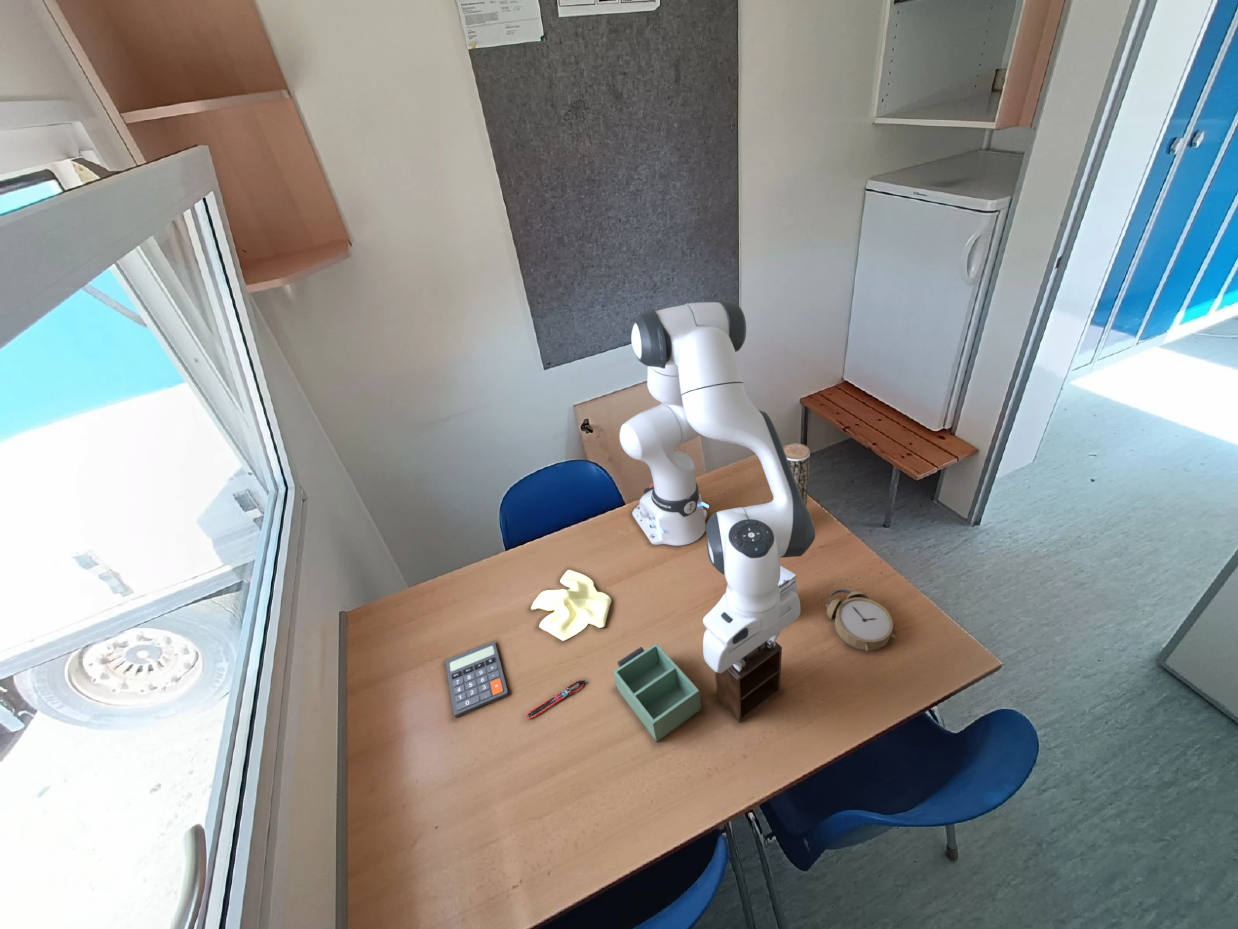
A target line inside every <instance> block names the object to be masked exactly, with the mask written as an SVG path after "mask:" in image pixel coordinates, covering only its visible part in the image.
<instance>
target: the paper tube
mask: <svg viewBox="0 0 1238 929" xmlns="http://www.w3.org/2000/svg"><path fill="white" fill-rule="evenodd" d="M782 446H783V449H784V452H785V454H786V457H787V460H788V462H789V465H790V468H791V471H792V473H793V476H794V479H795V481H796V484H797V487H798V489H799V492H800V494H801V497H802V499H803V501H804V503H805V505H806V507H807V505H808V504H807V503H808V488H809V474H810V460H811V451H810V448H809V447H808V446H807V445H805V444H802V443H795V442H794V443H788V444H785V445H782ZM807 508H808V507H807Z"/></svg>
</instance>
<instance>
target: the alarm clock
mask: <svg viewBox="0 0 1238 929" xmlns="http://www.w3.org/2000/svg"><path fill="white" fill-rule="evenodd" d="M840 593H847V596H846V599H844V600H841V599H840V598H835V599H832V600H831V598H832V597H833V596H834V595H836V594H840ZM825 607H826V615H827V617H828V618H829V619H830V620H833V619H834V623H833V624H834V628H835V632H836V633H837V635H838V636H839V638H840V639H841V640H843V641H844V643H845V644H848V645H849V646H851V647H853V648H855V649H858V650H862V651H865V652H869V651H875V650H879V649H881V648H883V647H884V646H885V645H887V643H888V642H889V640H890V638H892V639H897V636H896V635H895V634H893V629H894V621H893V617H892V615H891V614H890V612H889V611H888V610H887V608H886V607H884V606H883V605H882V604H880V603H879V602H877V601H875V600H873V599H870V597H869V596H868V594H867V593H866V592H864V591H862V590H853V591H852V590H850V589H847V588H838V589H835V590H832V592H831V593H830V594H829V596H828V602H827V603H826V604H825Z"/></svg>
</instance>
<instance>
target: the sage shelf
mask: <svg viewBox="0 0 1238 929" xmlns="http://www.w3.org/2000/svg"><path fill="white" fill-rule="evenodd" d="M617 665H618V667H617V668H616V669H614V670H613V671H612V674H613V677H614V682H615V686H616V689H617V691H618V693H619V695H620V696H621V697H622V699H623V700H624V701H625V702H626V704H627V705H628V706H629V708H630V709H631V710H632V711H633V713H634V714H635V716H636V718H638V719H639V721H640V722H641V724H642V725H643V726H644V727H645V729H646V731H647V732H648V733H649V734H650V736H651V737H652V738H653V740H654V741H655V742H656V743H657V742H659V741H660V740H662V739H663V738H665V736H667V735H669V734H670V733H672V732H673V731H674V730H675V729H677V728H678V727H680V726H681V725H682V724H684V723H685V722H686V721H688V720H689V719H690V718H692V717H693V716H695V715H696V714H697V713H699V712H700V711H701V710H702V706H701V704H702V703H701V695H700V690H699V689H698V688H697V687H696V685H695V684H694V683H693V682H692V681H691V679H689V677H688V676H687V675H686V674H685V672H683V671H682V670H681V669H680V667H679V666H678V665H677V664H676V663H675V661H674V660H672V658H670V656H669V655H668V654H667V653H666V651H664V649H663V648H662V647H661V646H660V645H659V644H658V643H654V644H653V645H651V646H650V647H648V648H647V649H644V648H643V647H642V646H640V647H638V648H637V649H635V650H634V651H632V652H631V653H629V654H627V655H626V656H625V657H623V658H621V659H620V660H618V661H617Z"/></svg>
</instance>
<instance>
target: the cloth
mask: <svg viewBox="0 0 1238 929" xmlns="http://www.w3.org/2000/svg"><path fill="white" fill-rule="evenodd" d="M559 582H560V584H562V585H563V586H564V587H567V588H569V589H564V588H560V589H547V590H543V591H542V592H539V595H538V596H537V597H535V598H536V599H535V600H534V601H533V603H532V604H531V607H530V609H531V610H532V611H533V610H537V609H540V610H542V611H547V612H552V611H553V612H552V613H549V614H548V615H547V616H545V617H544V618H543V619H542V620H541V621H540V623H539V626H538V627H539V628H540V629H541V630H543V631H544V632H547V633H548V634H550V635H552V636H553V637H555V638H557V639H559V640H561V641H562V642H564V641H567V640H569V639H570V638H572V637H574V636H576V635H577V634H579V633H581V632H582V631H583V630H584V629H586V627H587V626H588V625H592V626H595V627H597V628H598V629H600V628H601V629H602V628H604V627H606V623H607V618H608V615H609V610H610V606H611V604H612V598H611V597H610V596H609V595H607V594H606V593H605V592H602V591H598V590H597V589H596V587H595V583H594V581H593V580H592V579H591V578H590V577H588V576H587V575H584V574H582V573H580V572H577V571H575V570H571V569H567V570H566V571H565V573H563V575H562V576H561V578H560V580H559Z"/></svg>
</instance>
